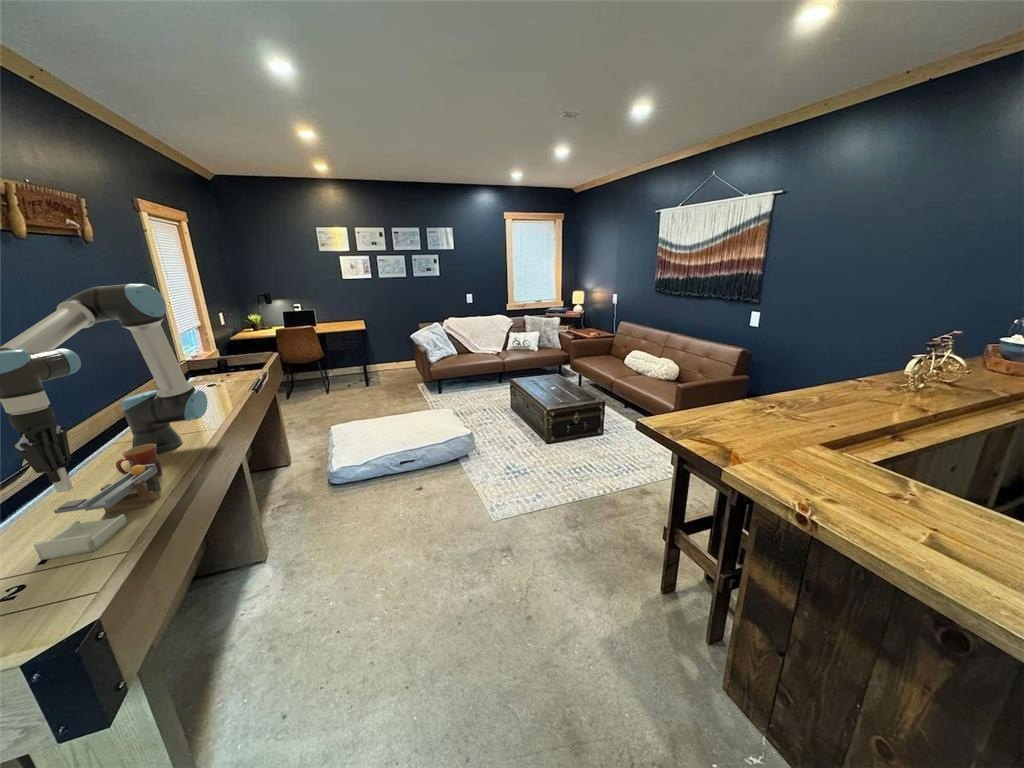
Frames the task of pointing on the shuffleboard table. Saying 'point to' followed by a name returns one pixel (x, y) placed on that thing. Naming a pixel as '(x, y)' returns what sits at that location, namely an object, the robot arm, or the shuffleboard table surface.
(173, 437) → the robot arm
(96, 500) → the lever
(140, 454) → the mug
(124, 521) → the tray
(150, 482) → the fulcrum
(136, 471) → the ball
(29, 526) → the shuffleboard table surface
